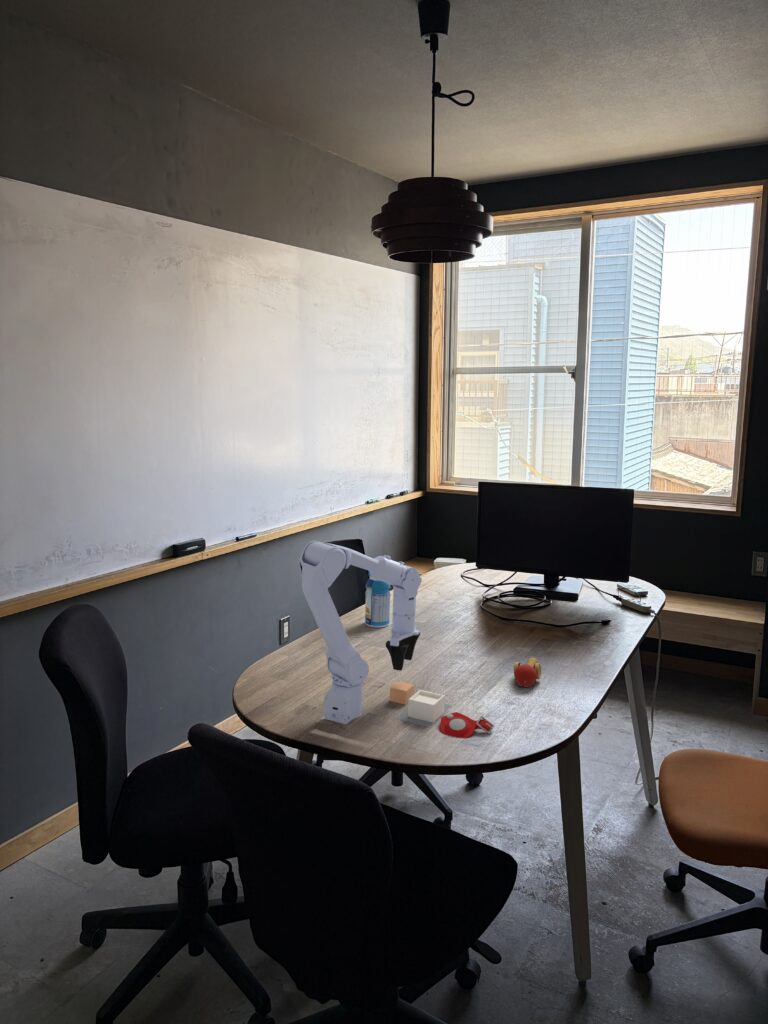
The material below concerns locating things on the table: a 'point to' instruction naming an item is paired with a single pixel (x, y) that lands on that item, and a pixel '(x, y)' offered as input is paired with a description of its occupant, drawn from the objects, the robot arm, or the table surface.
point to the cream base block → (426, 706)
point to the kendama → (527, 672)
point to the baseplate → (404, 717)
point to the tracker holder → (463, 725)
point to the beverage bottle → (377, 603)
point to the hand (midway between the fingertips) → (402, 664)
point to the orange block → (401, 692)
